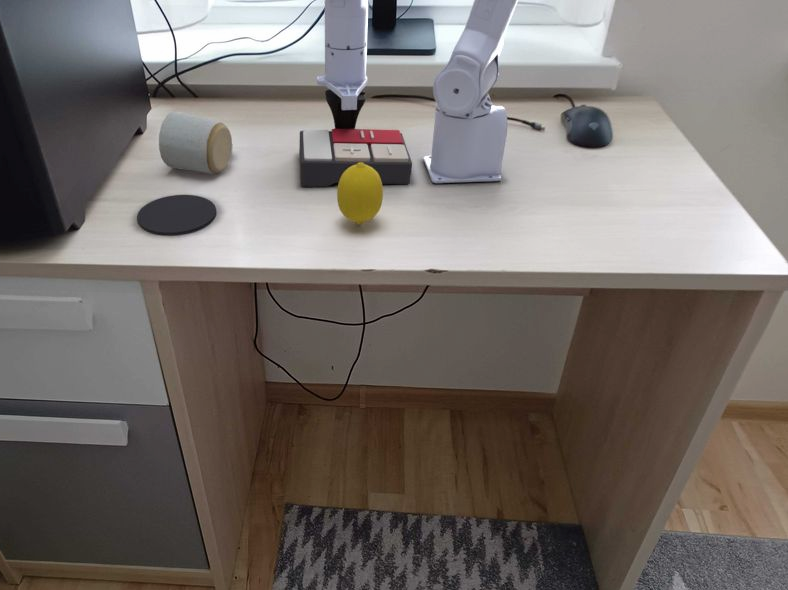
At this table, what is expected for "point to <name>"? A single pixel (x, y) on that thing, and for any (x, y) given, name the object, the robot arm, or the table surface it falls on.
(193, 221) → the felt coaster
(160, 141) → the ceramic mug
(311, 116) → the table surface
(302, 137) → the switch panel
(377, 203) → the lemon
